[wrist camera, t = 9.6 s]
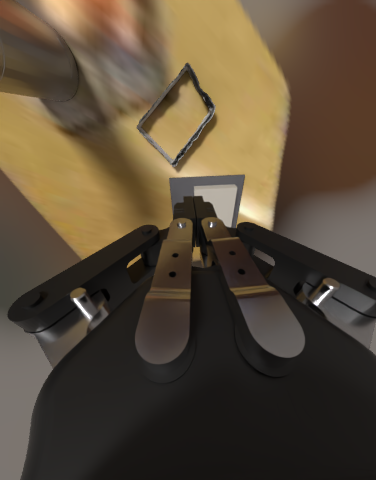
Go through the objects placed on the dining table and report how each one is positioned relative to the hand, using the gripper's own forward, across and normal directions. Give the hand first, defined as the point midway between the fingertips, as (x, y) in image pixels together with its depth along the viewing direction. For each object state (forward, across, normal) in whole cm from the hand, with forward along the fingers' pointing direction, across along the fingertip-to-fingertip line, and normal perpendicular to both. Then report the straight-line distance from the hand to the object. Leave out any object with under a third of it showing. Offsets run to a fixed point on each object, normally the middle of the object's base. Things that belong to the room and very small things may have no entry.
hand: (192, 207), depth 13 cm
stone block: (+25, -2, +13) cm, 29 cm away
